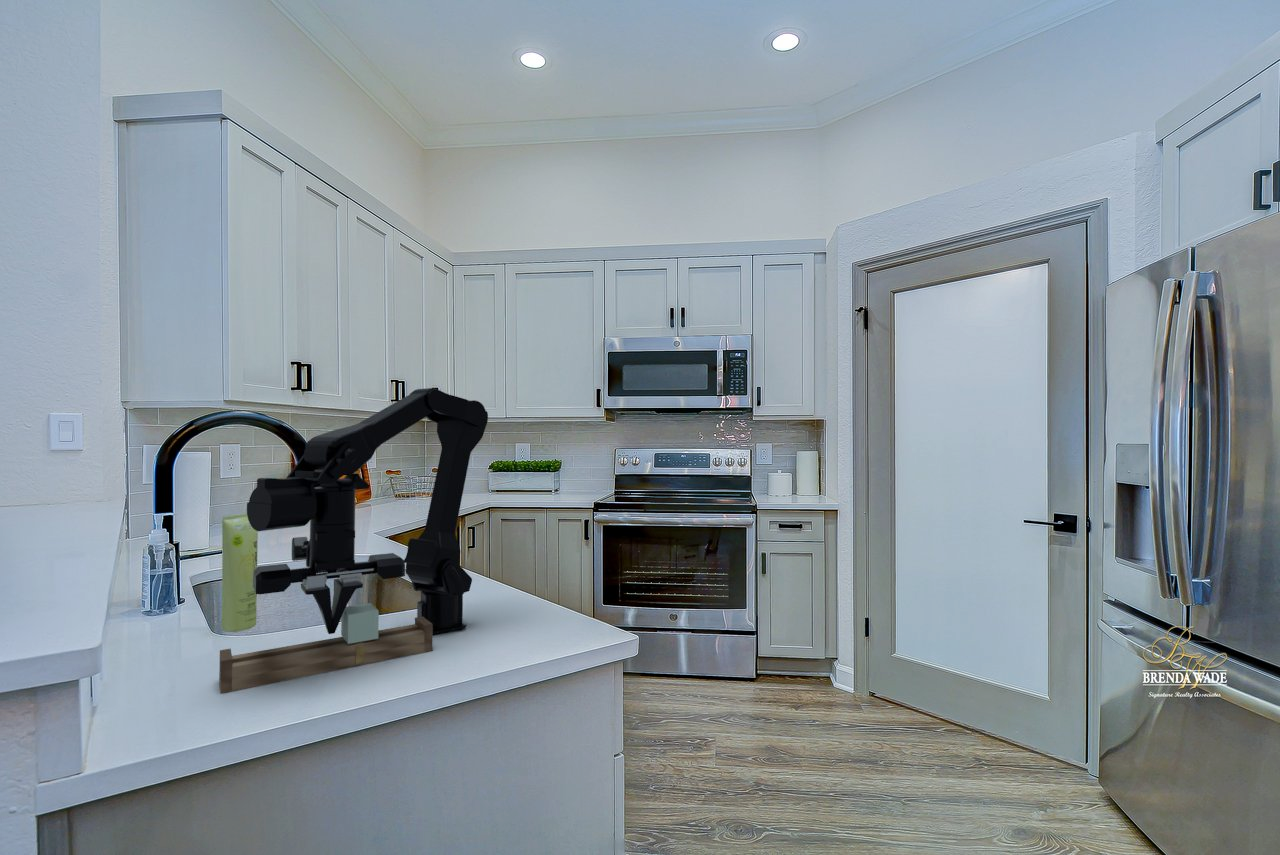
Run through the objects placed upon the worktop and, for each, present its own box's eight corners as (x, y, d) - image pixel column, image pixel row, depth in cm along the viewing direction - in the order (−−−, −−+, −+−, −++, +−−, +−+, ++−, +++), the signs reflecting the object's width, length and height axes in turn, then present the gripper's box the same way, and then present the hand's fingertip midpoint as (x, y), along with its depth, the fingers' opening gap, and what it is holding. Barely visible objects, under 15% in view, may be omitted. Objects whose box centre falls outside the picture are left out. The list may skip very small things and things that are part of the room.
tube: (256, 630, 101) (258, 513, 102) (220, 635, 98) (222, 515, 99) (256, 622, 106) (258, 510, 106) (221, 626, 103) (223, 512, 104)
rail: (422, 641, 96) (422, 616, 96) (432, 650, 91) (432, 624, 91) (219, 680, 80) (219, 649, 80) (220, 693, 76) (220, 661, 76)
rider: (370, 640, 91) (370, 603, 91) (378, 649, 87) (378, 610, 87) (341, 645, 89) (341, 607, 89) (347, 655, 84) (348, 615, 85)
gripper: (387, 513, 98) (386, 609, 98) (251, 521, 87) (248, 630, 86) (406, 520, 89) (405, 626, 89) (257, 530, 78) (254, 652, 78)
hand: (331, 633), depth 86 cm, fingers closed
